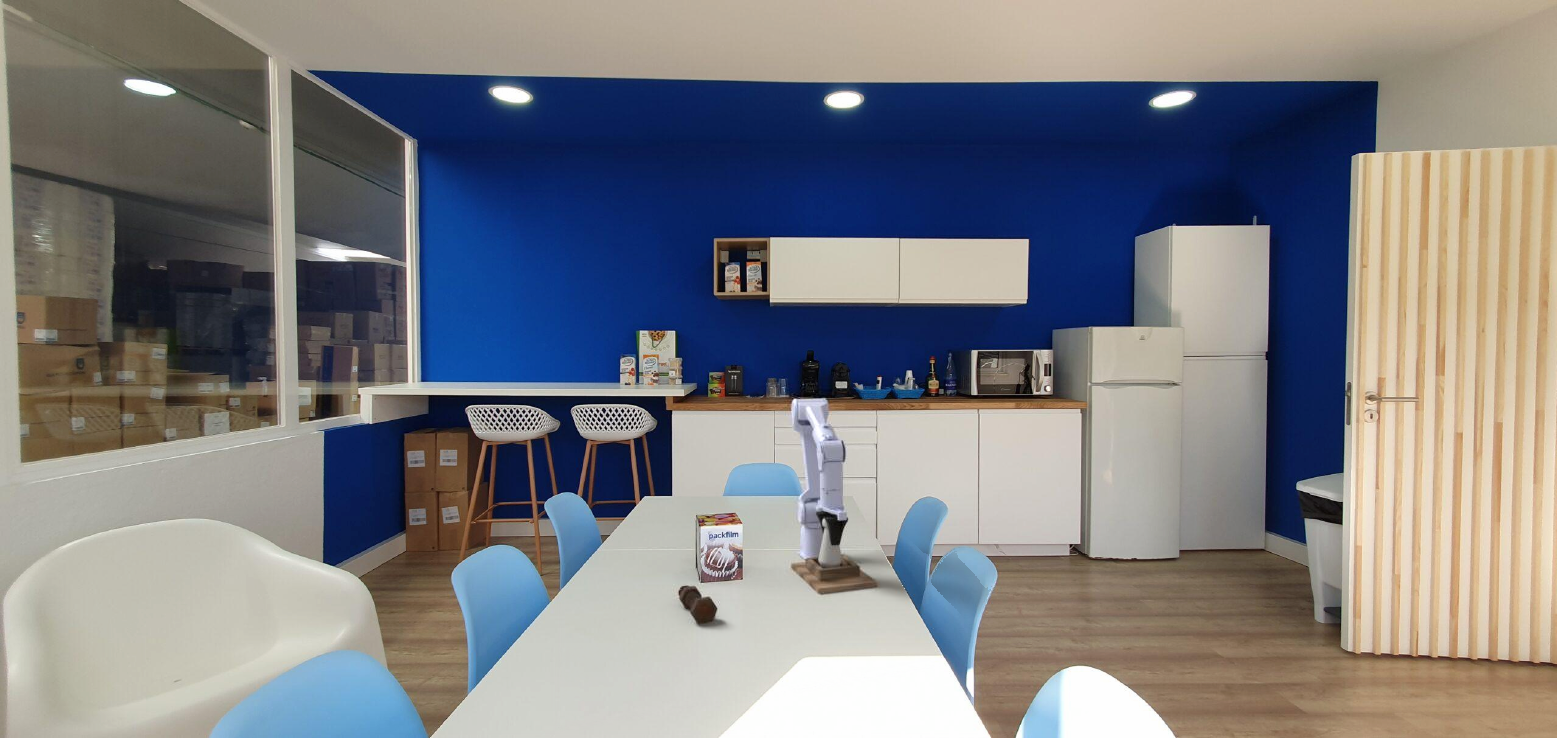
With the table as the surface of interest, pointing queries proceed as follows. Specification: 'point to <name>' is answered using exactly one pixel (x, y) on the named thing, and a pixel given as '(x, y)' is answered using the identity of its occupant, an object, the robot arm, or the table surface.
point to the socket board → (833, 575)
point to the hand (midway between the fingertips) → (831, 542)
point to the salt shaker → (829, 551)
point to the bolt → (697, 604)
